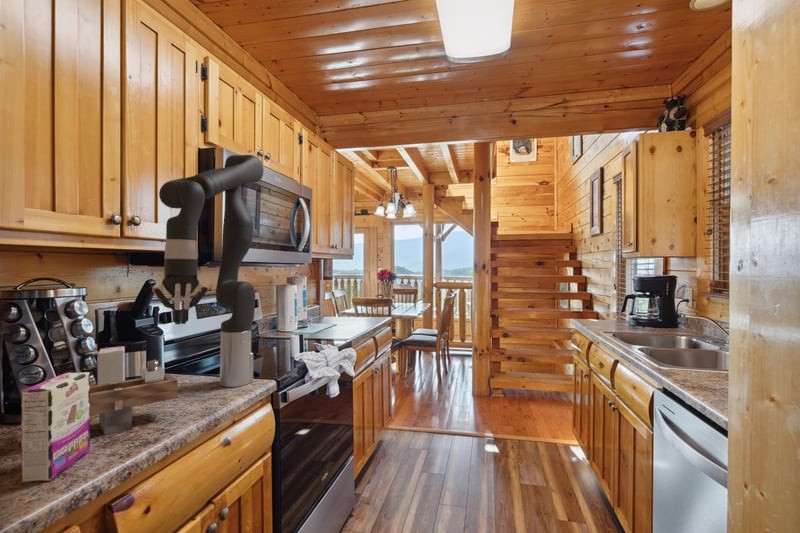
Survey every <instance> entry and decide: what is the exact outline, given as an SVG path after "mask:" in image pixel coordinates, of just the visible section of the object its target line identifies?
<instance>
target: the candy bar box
mask: <svg viewBox="0 0 800 533" xmlns="http://www.w3.org/2000/svg"><path fill="white" fill-rule="evenodd" d="M90 374H91V372H89V371H87V372H85V371H84V372H81V371H80V372H66V373H65V372H64V373H62V374H59V375H57V376H55V377H52V378H50V379H47V380H45V381H42V382H40V383H37V384H35V385H33V386H30V387H27V388H25V389H23V390H21V393H20V394H21V395H20V399H21V400H20V401H21V402H20V403H21V404H20V406H21V408H20V410H21V415H20V416H21V419H20V420H21V422H20V423H21V424H20V425H21V442H20V443H21V444H20V446H21V483H24V484H26V483H40V482H49V481H50V482H51V481H52V480H54V479H56V477H58V476H59V475H61V474H62V473H63V472H64V471H66V470H68V469H69V467H71V466H72V465H74V464H75V463H76V462H77V461H79V460H80V459H82V457H84V456H86V454H87V455H88V454H89V452H90V451H91V449H90V448H91V447H90V446H91V441H90V440H91V438H90V434H91V432H90V430H91V429H90V427H91V426H90V425H91V424H90V423H91V421H90V420H91V418H90V416H91V415H90V386H91V385H90V384H91V383H90V381H91V380H90V376H91V375H90Z"/></svg>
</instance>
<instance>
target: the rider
mask: <svg viewBox="0 0 800 533" xmlns="http://www.w3.org/2000/svg"><path fill="white" fill-rule="evenodd" d="M159 362H160V361H159V360H158V359H156V360H153V359H152V360H149V361H147V362H146V363H147V364H146V368H142V369H141V378H142V379H141V385H143V384H149V383H154V382H160V381H164V374H165V369H164V368H162V367H161V366H159V364H160V363H159Z"/></svg>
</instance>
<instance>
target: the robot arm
mask: <svg viewBox="0 0 800 533" xmlns="http://www.w3.org/2000/svg"><path fill="white" fill-rule="evenodd" d="M264 172H265V171H264V165H263V161H262V160H261V159H260V158H259V157H258V156H257V155H254V154H233V155H229V156H228V157H226V160H225V162H224V167H220V168H214V169H209V170H206V171H202V172H200V173H198V174H195V175H193V176H188V177H183V178H177V179H173V180H170V181H167V182H165V183H163V184H162V186H160V189H159V193H158V194H159V195H158V197H159V199H160V201H161V203H162V204H163V205H164V206H166V207H168V208H170V209H180V211H179V213H178V214H177V215H176V216H172V217H170V218H168V219H167V221H166V227H165V229H166V231H165V232H166V233H165V245H164V268H163V269H164V270H163V272H164V273H163V275H164V276H163V280H162V281H161V284H160V285H158V286H157V287H153V288H152V289H151V291H152V292H151V293H152V294H154V295H155V297H156V298H157V299H158V300H159V302H160V303H161V304H162V305H163V306H164V307H165V308H167V309H170V310H172V318H171V319H172V322H173V323H174V324H175V325H181V324H182V325H186V324H187V322H188V321H189V312H190V311H189V310H190V309H191V308H193V307H194V308H195V307H196V306H197V305H198V304H199V302H201V300H202V298H203V297H204V296H205V295H206V293H207V292H208V290H209V288H208V287H207V286H203V285H202V284H201V283H200V281H199V278H198V265H199V264H198V261H199V259H198V258H199V252H198V251H199V248H198V224H199V221H200V219H201V215H202V211H203V209H204V205H205V200H208V199H210V198H213V197H214V196H217V195H219V194H221V193H224V214H223V215H224V216H223V224H222V225H223V226H222V243H221V256H220V264H219V271H218V277H217V281H216V282H217V283H216V287H215V288H216V289H215V300H216V304H217V305H218V306H219V307H220V308H222V309H224V310H225V309H226V310H232V312H231V317H230V318H228V319H227V320H224V321H222V322H221V323H220V324H221V325H220V350H219V351H220V353H219V354H220V355H219V359H220V360H219V361H220V362H219V364H220V365H219V366H220V367H219V385H220V386H222V387H225V388H234V387H235V388H236V387H242V386H245V385H248V384H250V383H253V382H254V352H252V328H253V327H252V326H253V325H252V324H253V322H254V320H255V308H256V290H255V288H254V285H252V283H250V282H249V281H241V280H238V278H239V277H238V276H239V270H240V267H241V263H242V262H243V260H244V258H245V257H246V255H247V254H248V252H249V250H250V249H251V246H252V244H253V237H254V235H253V234H254V221H253V218H252V216H251V215H250V213H249V210H248V209H247V207H246V205H245V202H244V201H243V197H242V196H243V195H242V186H243V185H246V184H254V183H258V182H259V181H261V180H262V178H263V176H264ZM165 290H166V291H167V293H168V294H169V295H170V296H171V298H170V299H171V302H170V301H169V299H168V298H167V297H166V296H165V292H166V291H165ZM194 292H196V293H195V295H193V297H192V298H191V295H192V294H193V293H194ZM180 302H181V304H180ZM180 306H181V308H180Z"/></svg>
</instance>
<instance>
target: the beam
mask: <svg viewBox="0 0 800 533" xmlns="http://www.w3.org/2000/svg"><path fill="white" fill-rule="evenodd" d="M141 379H142V377H140V378H139V377H138V378H134V379H127V380H126V379H125V381H120V382H111V383H107V384H101V385H98V384H96V385H90V416H93V415H98V414H99V415H98V424H99V426H100V428H101V431H102V432H103V435H104V436H108V435H112V434H117V433H121V432H125V431H129V430H132V428H133V427H132V426H133V408H134V407H137V406H138V407H139V406H142V405H143V406H144V405H148V404H153V403H159V402H164V401H168V400H172V399H177V398H178V379H177V378H175V377H174V376H172V375H171V374H170V373H164V381H160V382H154V383H149V384H143V385H141Z"/></svg>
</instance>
